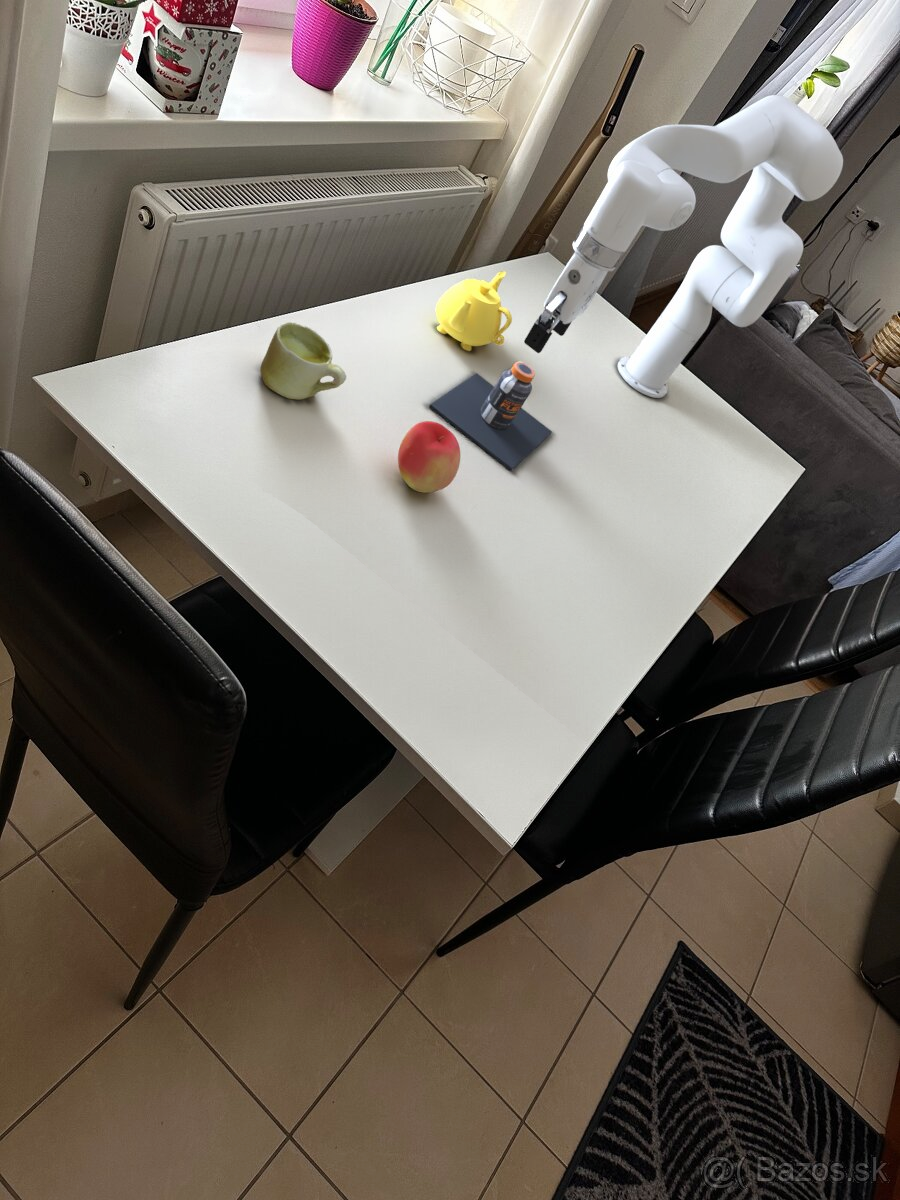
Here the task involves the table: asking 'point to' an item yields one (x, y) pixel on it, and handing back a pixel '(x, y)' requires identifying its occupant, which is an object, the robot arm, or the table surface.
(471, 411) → the mat
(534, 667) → the table surface
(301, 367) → the mug
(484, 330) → the teapot
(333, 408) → the table surface
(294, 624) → the table surface
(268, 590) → the table surface
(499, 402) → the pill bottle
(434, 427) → the apple
